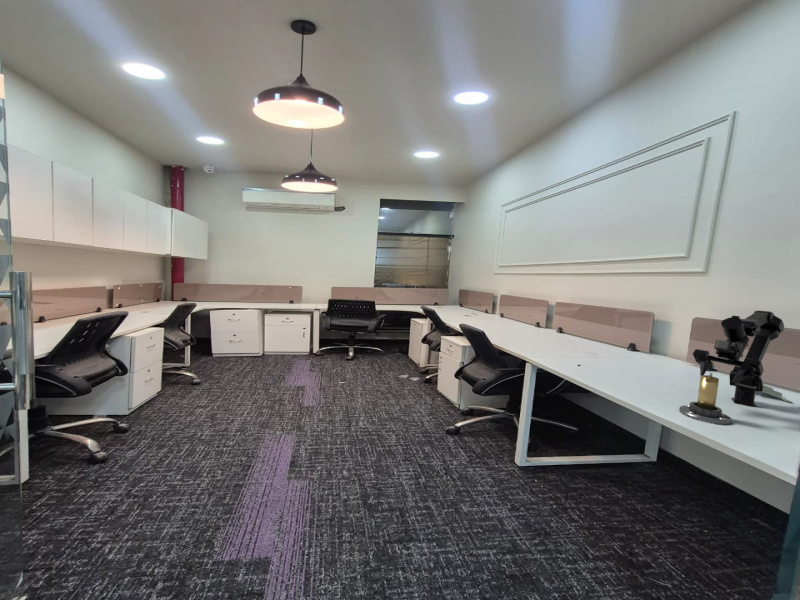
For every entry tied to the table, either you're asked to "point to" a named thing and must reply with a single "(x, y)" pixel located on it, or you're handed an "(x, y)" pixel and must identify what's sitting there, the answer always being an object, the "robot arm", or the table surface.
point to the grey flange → (705, 414)
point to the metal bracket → (773, 392)
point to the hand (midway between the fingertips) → (716, 379)
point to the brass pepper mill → (707, 392)
